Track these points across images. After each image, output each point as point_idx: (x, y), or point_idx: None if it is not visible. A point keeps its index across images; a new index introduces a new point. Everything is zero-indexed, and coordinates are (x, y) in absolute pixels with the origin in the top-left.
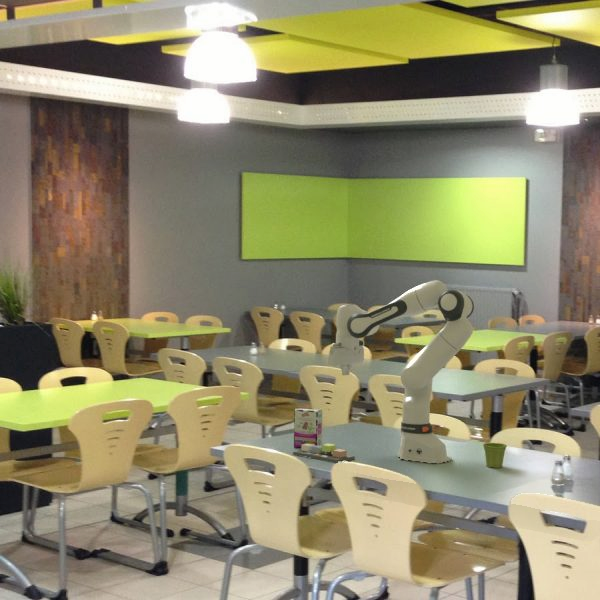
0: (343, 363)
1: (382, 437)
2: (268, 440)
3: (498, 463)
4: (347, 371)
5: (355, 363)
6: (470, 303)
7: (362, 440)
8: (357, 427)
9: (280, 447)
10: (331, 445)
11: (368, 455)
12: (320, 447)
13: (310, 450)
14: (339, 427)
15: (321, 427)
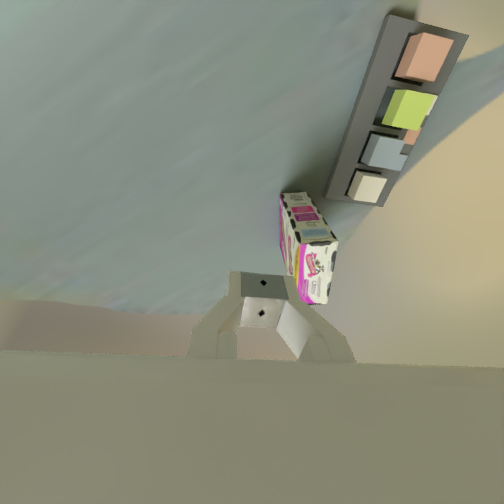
0: (436, 383)
1: (14, 144)
2: None
3: None
4: (263, 295)
5: (101, 354)
6: None
7: (108, 168)
8: None
9: None
10: (423, 96)
11: (302, 7)
12: (398, 140)
13: (374, 174)
14: (36, 289)
15: (292, 215)
